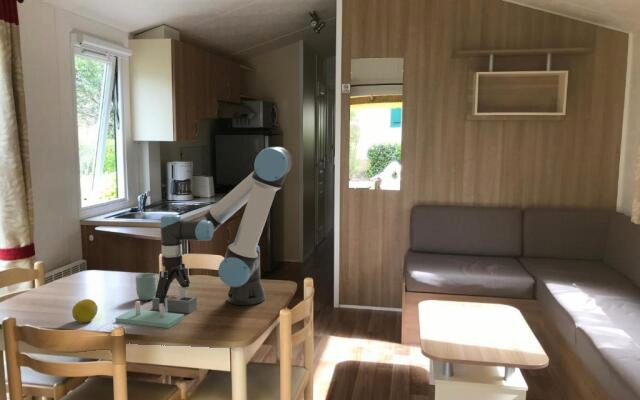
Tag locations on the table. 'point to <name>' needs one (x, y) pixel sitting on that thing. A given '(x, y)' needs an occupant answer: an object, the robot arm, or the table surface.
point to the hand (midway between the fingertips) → (174, 308)
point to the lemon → (84, 310)
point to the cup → (146, 286)
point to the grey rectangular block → (177, 303)
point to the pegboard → (150, 317)
